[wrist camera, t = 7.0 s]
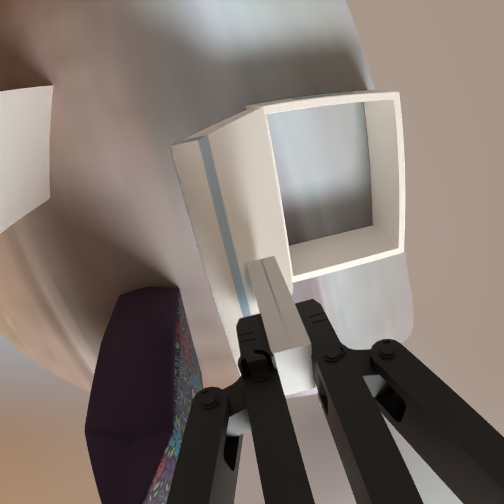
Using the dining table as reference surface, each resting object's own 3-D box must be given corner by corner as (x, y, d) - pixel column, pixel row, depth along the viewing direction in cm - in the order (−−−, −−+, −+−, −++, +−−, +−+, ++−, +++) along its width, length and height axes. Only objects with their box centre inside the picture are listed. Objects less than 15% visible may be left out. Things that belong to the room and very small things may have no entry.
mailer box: (377, 229, 36) (403, 252, 31) (273, 254, 36) (286, 284, 31) (367, 89, 29) (398, 90, 23) (245, 104, 28) (255, 106, 23)
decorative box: (150, 380, 43) (146, 565, 18) (114, 290, 35) (58, 532, 10) (204, 375, 43) (225, 566, 19) (181, 281, 36) (181, 547, 11)
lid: (268, 404, 19) (247, 403, 20) (293, 288, 30) (279, 288, 30) (198, 140, 11) (167, 146, 12) (263, 106, 22) (245, 109, 22)
